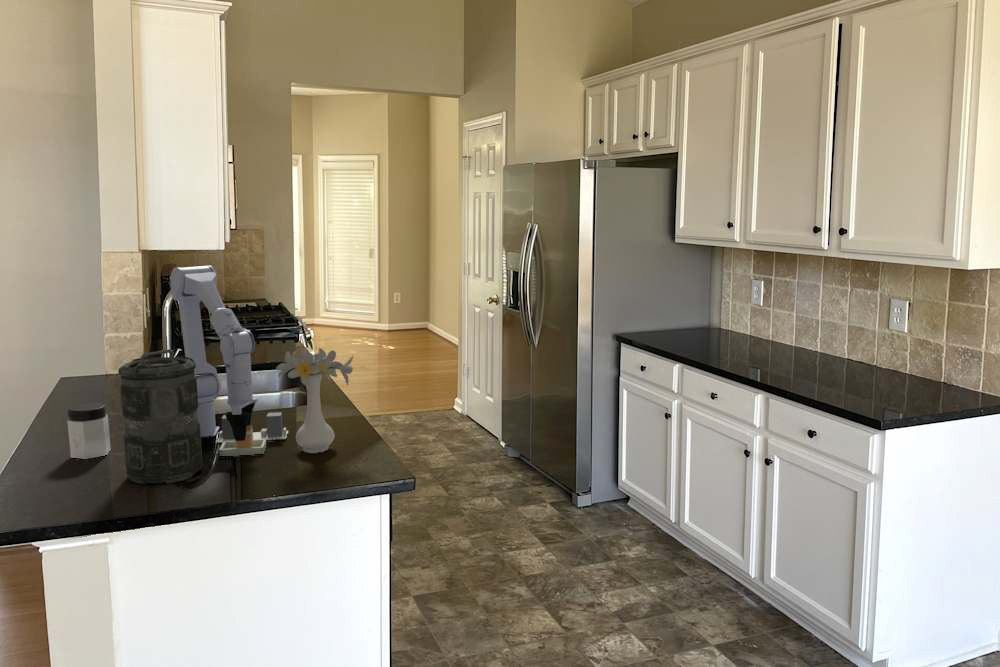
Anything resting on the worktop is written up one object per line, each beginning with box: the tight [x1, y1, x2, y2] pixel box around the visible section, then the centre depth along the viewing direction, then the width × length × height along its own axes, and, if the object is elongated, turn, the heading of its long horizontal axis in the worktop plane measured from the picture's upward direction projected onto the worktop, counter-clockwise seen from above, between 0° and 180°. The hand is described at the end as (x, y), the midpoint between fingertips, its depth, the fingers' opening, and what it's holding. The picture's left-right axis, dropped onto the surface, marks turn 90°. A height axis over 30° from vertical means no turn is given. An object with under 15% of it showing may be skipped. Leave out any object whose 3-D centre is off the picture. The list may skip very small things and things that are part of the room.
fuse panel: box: [216, 411, 289, 444], centre depth 209 cm, size 17×7×6 cm, turn 100°
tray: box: [218, 439, 268, 457], centre depth 199 cm, size 10×7×2 cm
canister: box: [117, 349, 203, 486], centre depth 181 cm, size 16×16×28 cm
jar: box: [66, 402, 112, 459], centre depth 196 cm, size 9×8×12 cm
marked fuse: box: [236, 424, 253, 448], centre depth 198 cm, size 4×4×6 cm
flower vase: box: [275, 347, 354, 454], centre depth 199 cm, size 13×18×25 cm
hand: (242, 435), depth 198 cm, fingers open, 7 cm apart
